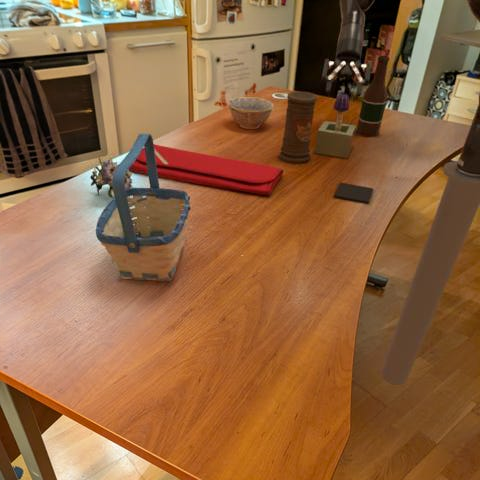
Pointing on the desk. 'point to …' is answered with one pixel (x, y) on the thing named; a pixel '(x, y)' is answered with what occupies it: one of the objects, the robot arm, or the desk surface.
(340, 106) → the toy lamp
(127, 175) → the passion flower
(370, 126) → the beer bottle
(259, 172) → the dish drying mat
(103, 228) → the basket
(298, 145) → the container
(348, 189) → the mat
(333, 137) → the holder
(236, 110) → the bowl
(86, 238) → the desk surface
